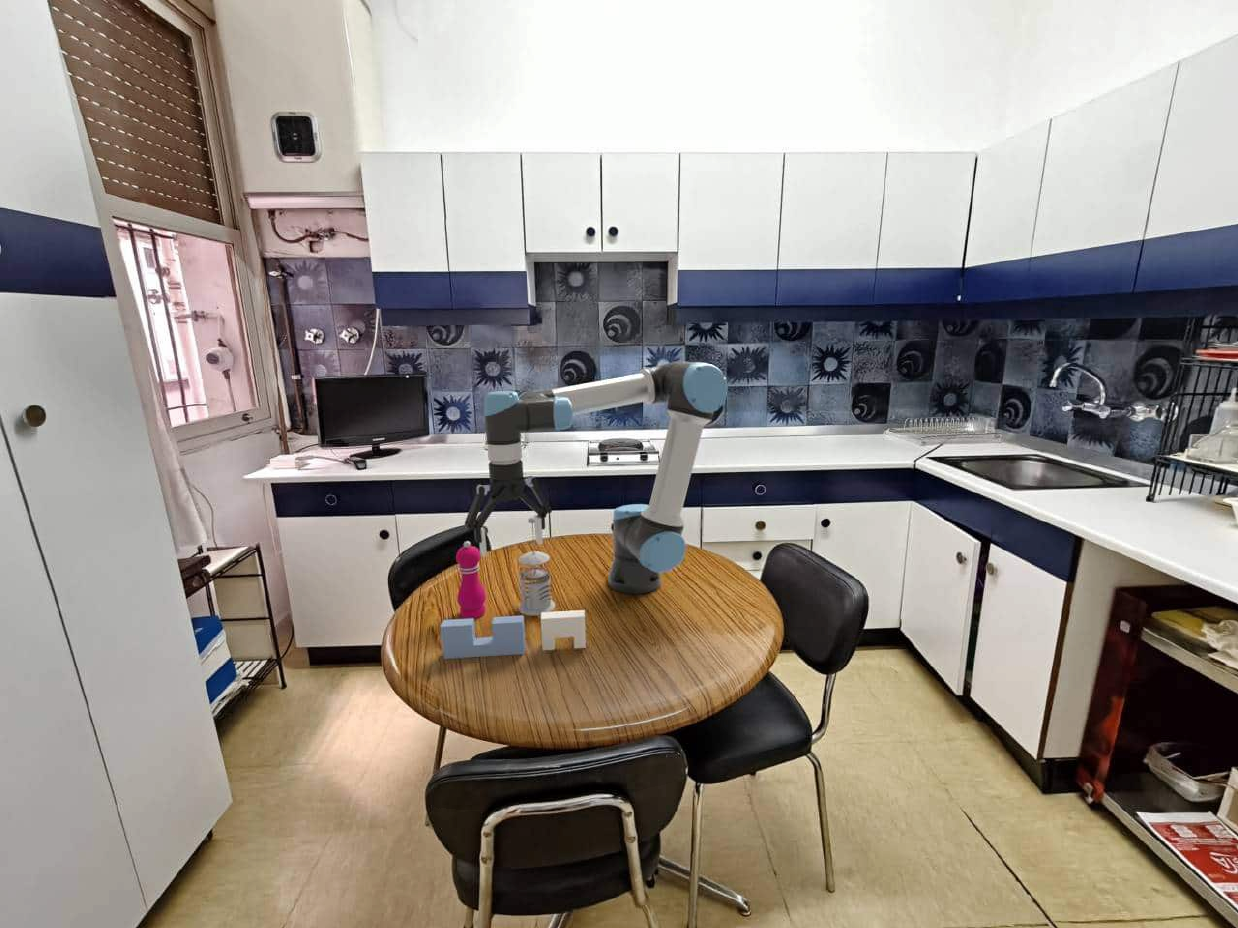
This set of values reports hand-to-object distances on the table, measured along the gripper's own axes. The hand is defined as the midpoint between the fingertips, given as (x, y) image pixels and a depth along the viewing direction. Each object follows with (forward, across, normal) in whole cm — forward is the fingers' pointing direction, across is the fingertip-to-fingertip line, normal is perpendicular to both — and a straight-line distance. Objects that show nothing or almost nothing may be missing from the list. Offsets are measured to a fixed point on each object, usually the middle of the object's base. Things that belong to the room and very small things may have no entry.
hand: (512, 548), depth 128 cm
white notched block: (+22, -7, +11) cm, 26 cm away
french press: (+22, -8, -9) cm, 25 cm away
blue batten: (+22, +10, +4) cm, 24 cm away
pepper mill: (+22, +7, -15) cm, 28 cm away
